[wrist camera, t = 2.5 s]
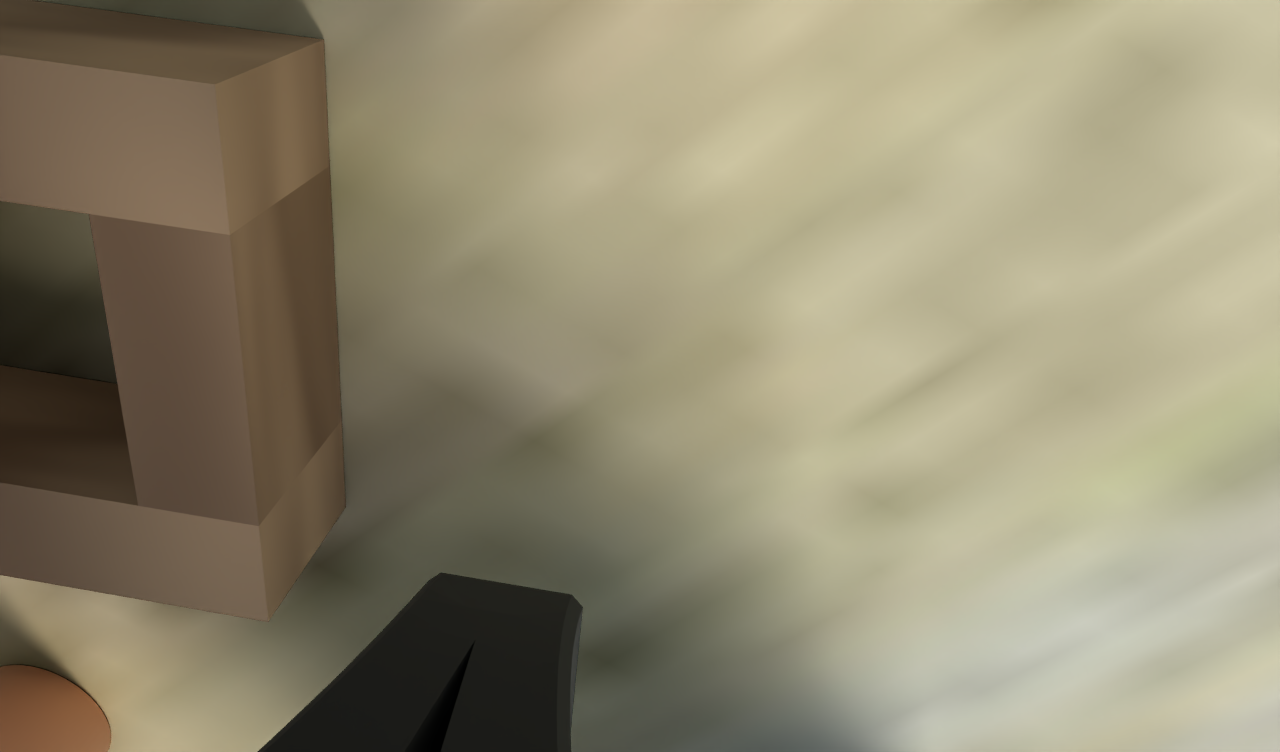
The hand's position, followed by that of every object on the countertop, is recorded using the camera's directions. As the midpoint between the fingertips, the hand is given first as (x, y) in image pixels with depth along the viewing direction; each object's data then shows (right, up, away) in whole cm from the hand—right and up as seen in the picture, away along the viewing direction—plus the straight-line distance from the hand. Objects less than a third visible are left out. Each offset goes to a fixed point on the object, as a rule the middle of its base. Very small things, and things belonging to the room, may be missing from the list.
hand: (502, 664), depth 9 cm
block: (-8, +4, +7) cm, 11 cm away
